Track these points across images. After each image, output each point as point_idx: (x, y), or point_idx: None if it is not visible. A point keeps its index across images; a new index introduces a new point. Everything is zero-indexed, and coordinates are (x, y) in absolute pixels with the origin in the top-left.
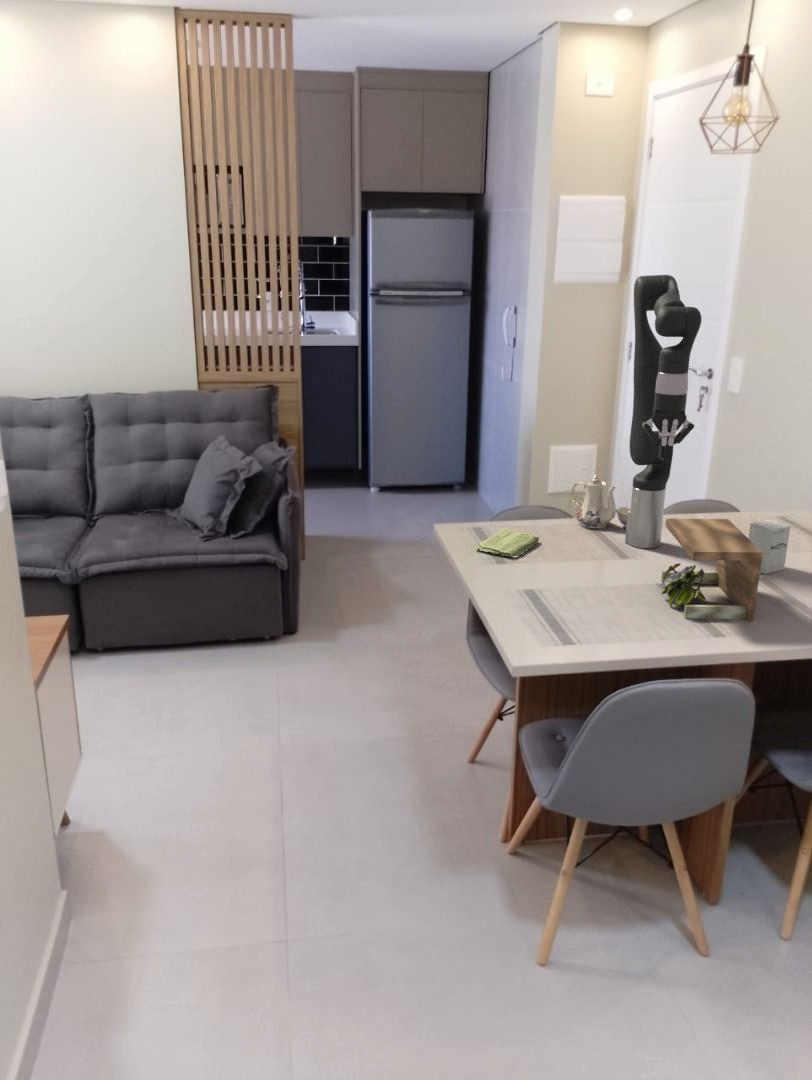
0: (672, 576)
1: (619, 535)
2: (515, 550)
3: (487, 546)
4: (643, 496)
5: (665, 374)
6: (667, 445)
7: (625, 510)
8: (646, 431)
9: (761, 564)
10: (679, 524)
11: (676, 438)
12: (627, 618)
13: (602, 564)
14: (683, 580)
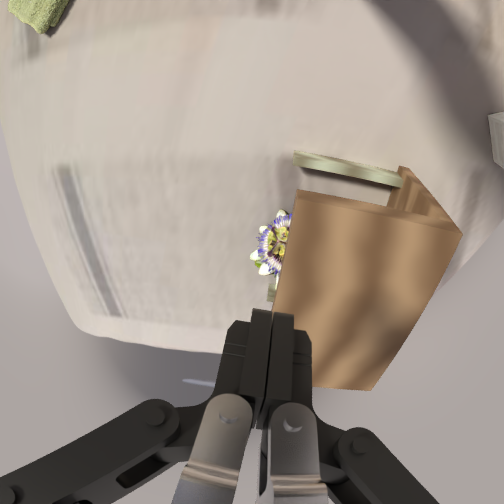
0: (268, 263)
1: None
2: (46, 21)
3: (15, 11)
4: None
5: None
6: (263, 425)
7: None
8: (55, 460)
9: (499, 156)
10: (310, 253)
11: (327, 481)
12: (187, 276)
13: (203, 42)
14: None
